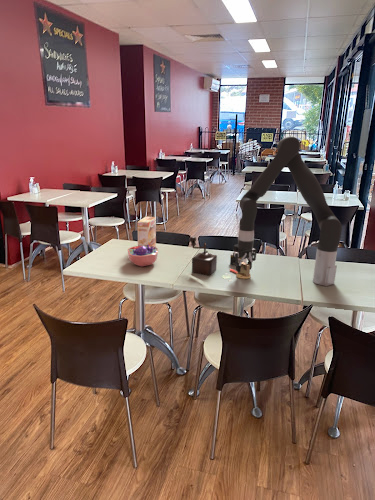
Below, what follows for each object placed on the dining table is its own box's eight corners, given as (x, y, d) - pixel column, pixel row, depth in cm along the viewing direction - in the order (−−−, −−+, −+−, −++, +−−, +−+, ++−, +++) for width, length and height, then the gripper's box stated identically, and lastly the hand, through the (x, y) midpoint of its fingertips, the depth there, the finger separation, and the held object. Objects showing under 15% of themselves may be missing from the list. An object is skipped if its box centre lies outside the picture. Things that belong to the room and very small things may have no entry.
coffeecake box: (148, 254, 223) (148, 222, 217) (137, 253, 225) (136, 221, 219) (156, 247, 237) (156, 216, 231) (145, 246, 238) (145, 216, 232)
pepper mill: (217, 271, 198) (218, 238, 192) (210, 278, 188) (211, 244, 183) (190, 267, 204) (190, 235, 198) (182, 273, 194) (182, 240, 188)
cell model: (161, 259, 215) (161, 240, 212) (155, 271, 196) (154, 251, 193) (132, 257, 217) (131, 238, 213) (123, 269, 198) (122, 249, 195)
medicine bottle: (229, 266, 205) (230, 245, 201) (234, 262, 211) (235, 242, 207) (242, 269, 202) (243, 247, 198) (246, 265, 208) (248, 244, 204)
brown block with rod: (253, 277, 187) (254, 264, 185) (242, 280, 183) (243, 267, 181) (235, 269, 197) (236, 256, 195) (225, 271, 194) (225, 259, 191)
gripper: (240, 242, 175) (238, 275, 180) (262, 238, 182) (259, 270, 188) (229, 238, 181) (227, 271, 186) (251, 234, 188) (249, 265, 194)
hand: (243, 270), depth 187 cm, fingers open, 6 cm apart
